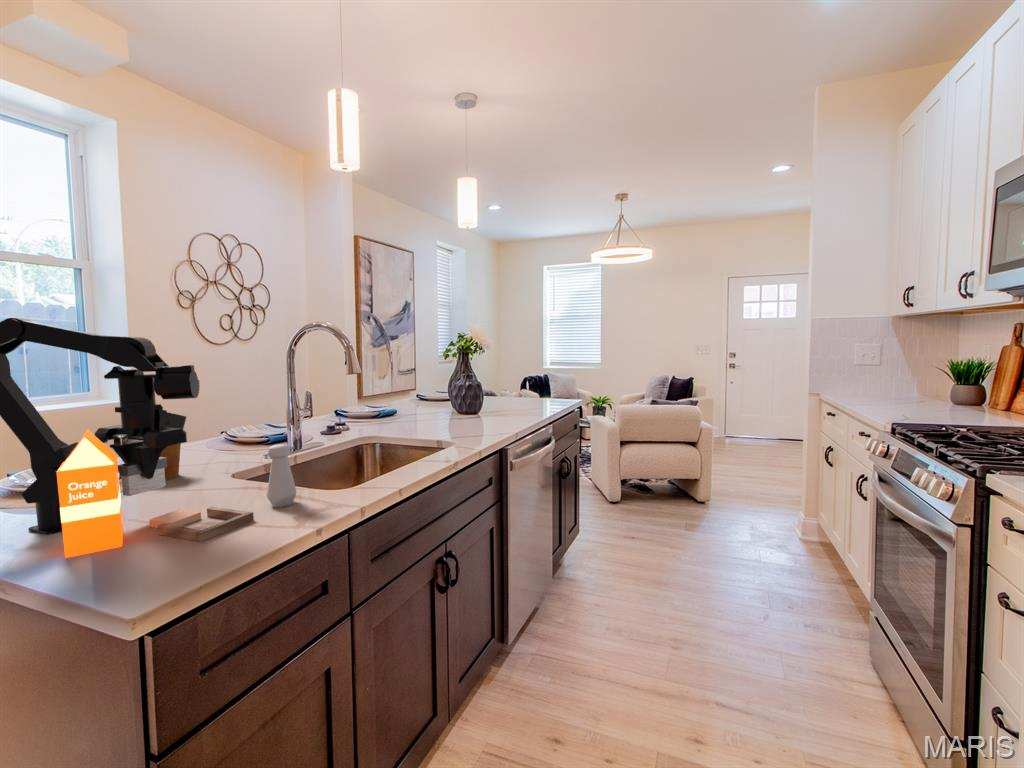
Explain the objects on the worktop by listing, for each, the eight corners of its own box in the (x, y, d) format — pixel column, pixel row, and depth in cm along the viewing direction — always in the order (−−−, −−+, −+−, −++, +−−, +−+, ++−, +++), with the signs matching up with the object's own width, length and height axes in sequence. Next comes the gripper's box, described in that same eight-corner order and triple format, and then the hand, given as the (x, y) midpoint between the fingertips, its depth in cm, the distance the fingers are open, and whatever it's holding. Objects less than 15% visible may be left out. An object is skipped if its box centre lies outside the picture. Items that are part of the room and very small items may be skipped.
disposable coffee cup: (169, 482, 129) (166, 435, 127) (132, 482, 129) (128, 436, 128) (193, 472, 138) (190, 429, 137) (159, 472, 138) (155, 429, 137)
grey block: (119, 495, 99) (117, 465, 98) (158, 484, 106) (156, 456, 105) (130, 496, 98) (127, 466, 97) (168, 486, 105) (166, 457, 104)
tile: (150, 528, 98) (149, 519, 97) (179, 517, 103) (178, 509, 103) (172, 532, 96) (171, 522, 95) (201, 521, 101) (200, 512, 101)
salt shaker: (285, 509, 106) (281, 448, 105) (261, 508, 107) (257, 447, 106) (302, 500, 111) (299, 442, 110) (279, 499, 113) (275, 442, 111)
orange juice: (63, 558, 83) (51, 439, 82) (70, 541, 90) (59, 431, 89) (123, 546, 88) (113, 433, 86) (124, 531, 95) (115, 426, 93)
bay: (157, 534, 93) (157, 526, 93) (212, 514, 103) (212, 506, 103) (201, 541, 89) (200, 533, 89) (253, 520, 100) (253, 512, 99)
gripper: (209, 397, 104) (214, 471, 106) (147, 395, 111) (152, 464, 112) (154, 404, 94) (160, 486, 95) (89, 401, 100) (96, 478, 102)
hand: (143, 477), depth 101 cm, fingers closed on grey block, 3 cm apart
